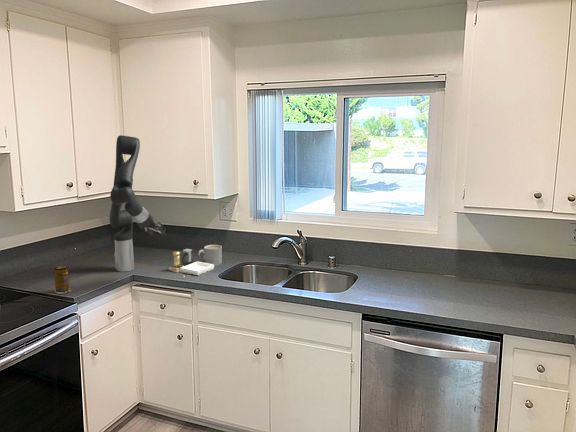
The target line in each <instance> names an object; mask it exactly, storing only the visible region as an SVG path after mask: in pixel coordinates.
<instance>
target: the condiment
mask: <svg viewBox="0 0 576 432" xmlns="http://www.w3.org/2000/svg"><path fill="white" fill-rule="evenodd" d="M53 277H54V287H55V289H54V290H56V292H65V291H68V290H69V289H70V280H69V279H70V278H69V272H68V266H66V265H58V266H55V267H54V274H53ZM68 292H69V291H68Z"/></svg>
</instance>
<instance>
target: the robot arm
mask: <svg viewBox="0 0 576 432" xmlns="http://www.w3.org/2000/svg"><path fill="white" fill-rule="evenodd" d="M115 144H116V146H115V168H114V169H115V170H114V175H113V176H114V178H113V187H112V188H111V191H110V194H109V195H110V201H111V205H110V206H111V207H110V214H109V225H110V226H111V227H112V228H114V229H120V231H118V232H117V233H115V234H114V236H113V238H114V249H115V250H114V253H113V255H114V267H115V268H114V269H115V271H117V272H122V273H123V272H124V273H125V272H130V271H134V269H135V262H134V261H135V259H134V258H135V256H134V245H133V244H134V243H133V233H134V232H133V229H134V228H133V224H134V223H133V222H134V221H135V223H136V226H138V228H139V229H141V231H144V232H147V234H149V236H153V234H154V232H157V233H159V234H160V235H161V236H162V237H163V238H165V237H166V236H167V233H166V229H167V228H166V227H165V225H163V224H162V223H161V222H157V223H156V222H155V221H154V217H153V216H152V215H151V214H150V212H149V211H148V210H147V209H146V208H145V207H143V205H142V204H141V203H140V202H139V200H138V199H137V196H136V194H135V192H134V190H133V184H134V183H133V182H134V178H133V177H134V171H135V169H136V168H135V167H136V164H137V162H138V161H137V160H138V157H139V153H140V146H141V142H140V138H138V137H135V136H129V135H121V134H120V135H118V136H117V138H116V143H115ZM124 155H128V156H130V157H129V158H128V159H127V160H126V161H125V160H124ZM123 205H124V209H121V208H122V206H123ZM133 220H134V221H133ZM121 228H122V229H121Z"/></svg>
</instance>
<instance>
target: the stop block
mask: <svg viewBox="0 0 576 432" xmlns="http://www.w3.org/2000/svg"><path fill="white" fill-rule="evenodd" d="M181 267H184V266H183V264H182V265H181V264H180V268H181ZM180 268H174V265H172V266H169V272H174V273H181V272H180Z"/></svg>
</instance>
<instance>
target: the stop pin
mask: <svg viewBox="0 0 576 432" xmlns="http://www.w3.org/2000/svg"><path fill="white" fill-rule="evenodd" d="M172 255H173V266H174V268H180V265H181V256H180V255H181V251H178V250H177V251H173V252H172Z"/></svg>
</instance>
